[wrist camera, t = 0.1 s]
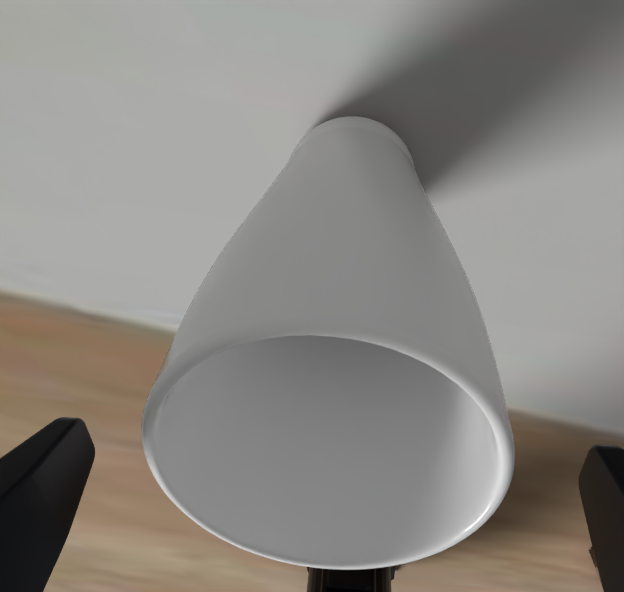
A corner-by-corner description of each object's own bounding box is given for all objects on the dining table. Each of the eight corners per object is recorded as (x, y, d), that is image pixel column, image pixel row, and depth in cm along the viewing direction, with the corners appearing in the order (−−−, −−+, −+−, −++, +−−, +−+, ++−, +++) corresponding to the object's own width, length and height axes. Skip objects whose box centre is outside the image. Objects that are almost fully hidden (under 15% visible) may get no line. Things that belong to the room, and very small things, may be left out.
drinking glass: (408, 66, 19) (481, 264, 6) (447, 223, 22) (547, 558, 10) (246, 126, 21) (55, 372, 8) (305, 263, 24) (233, 588, 11)
